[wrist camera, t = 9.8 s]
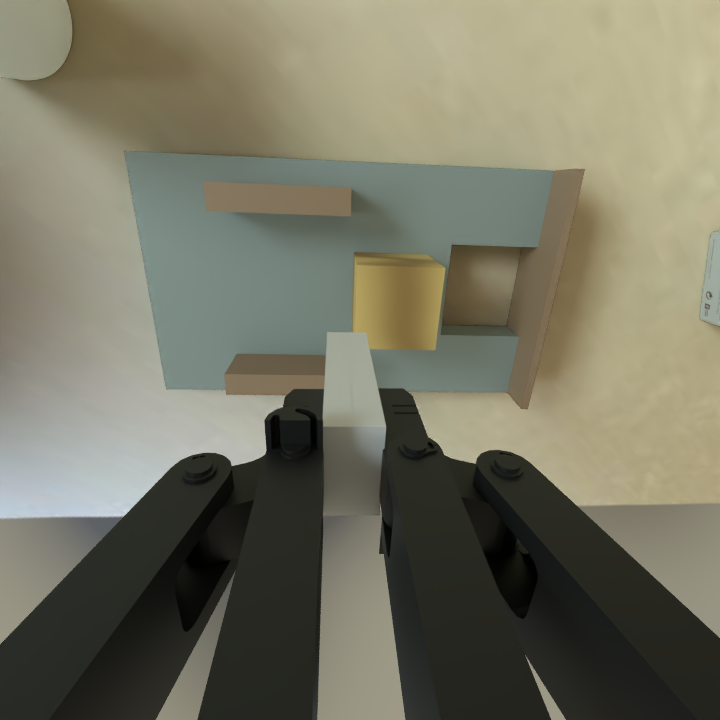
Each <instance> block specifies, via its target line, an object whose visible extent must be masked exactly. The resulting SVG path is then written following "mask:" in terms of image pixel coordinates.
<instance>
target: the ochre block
mask: <svg viewBox="0 0 720 720" xmlns="http://www.w3.org/2000/svg"><path fill="white" fill-rule="evenodd" d="M444 276H445V267H443V266H442V265H441V264H439V263H438V262H437V261H435V260H434V259H433V258H431V257H430V256H428V255H426V254H396V253H366V252H354V260H353V291H352V322H351V323H352V332H355V333H366V335H367V340H368V344H369V349H402V350H435V348H436V340H437V332H438V324H439V316H440V308H441V300H442V292H443V284H444Z"/></svg>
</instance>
